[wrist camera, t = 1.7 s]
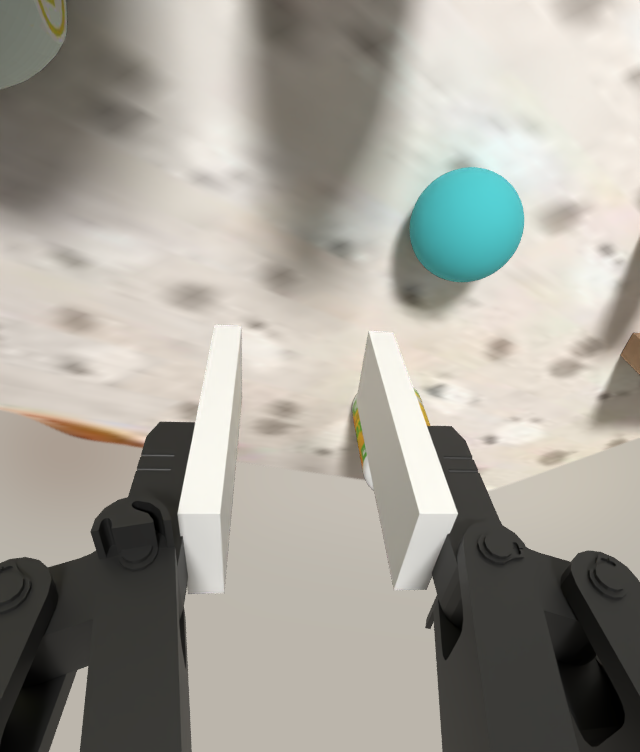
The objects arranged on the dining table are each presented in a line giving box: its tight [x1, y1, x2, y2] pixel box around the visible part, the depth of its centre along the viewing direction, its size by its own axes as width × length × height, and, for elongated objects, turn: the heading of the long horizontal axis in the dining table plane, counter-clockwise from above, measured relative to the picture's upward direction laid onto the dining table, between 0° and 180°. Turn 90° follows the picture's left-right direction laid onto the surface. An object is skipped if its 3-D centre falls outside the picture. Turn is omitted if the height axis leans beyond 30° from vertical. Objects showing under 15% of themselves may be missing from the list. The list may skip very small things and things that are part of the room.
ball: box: [410, 167, 524, 282], centre depth 27 cm, size 6×6×6 cm
